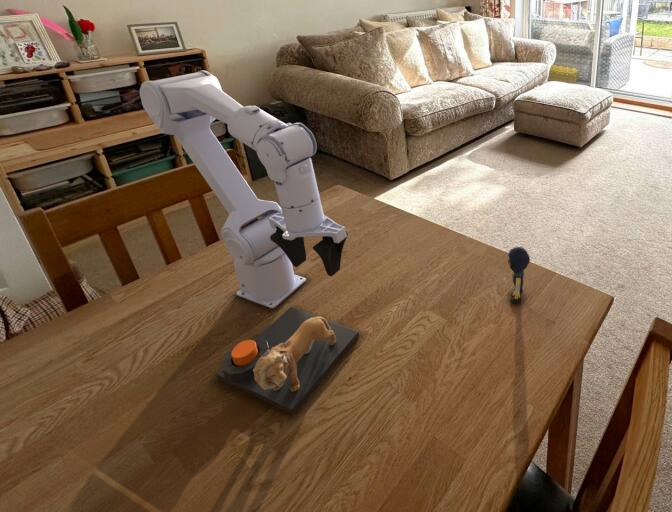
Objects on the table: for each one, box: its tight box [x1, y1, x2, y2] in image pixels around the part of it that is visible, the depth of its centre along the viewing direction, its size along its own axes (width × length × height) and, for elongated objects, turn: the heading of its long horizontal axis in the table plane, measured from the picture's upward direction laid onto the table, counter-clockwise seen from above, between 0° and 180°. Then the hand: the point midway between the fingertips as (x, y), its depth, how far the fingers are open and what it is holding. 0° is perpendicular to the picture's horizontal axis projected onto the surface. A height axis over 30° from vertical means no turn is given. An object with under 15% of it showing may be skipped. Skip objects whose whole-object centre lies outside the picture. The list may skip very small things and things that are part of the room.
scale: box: [215, 306, 360, 415], centre depth 65 cm, size 15×14×3 cm
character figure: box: [507, 246, 531, 304], centre depth 76 cm, size 9×4×12 cm, turn 178°
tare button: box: [231, 339, 258, 366], centre depth 62 cm, size 3×3×2 cm
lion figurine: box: [253, 316, 336, 392], centre depth 61 cm, size 15×5×9 cm, turn 172°
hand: (317, 267), depth 70 cm, fingers open, 7 cm apart
